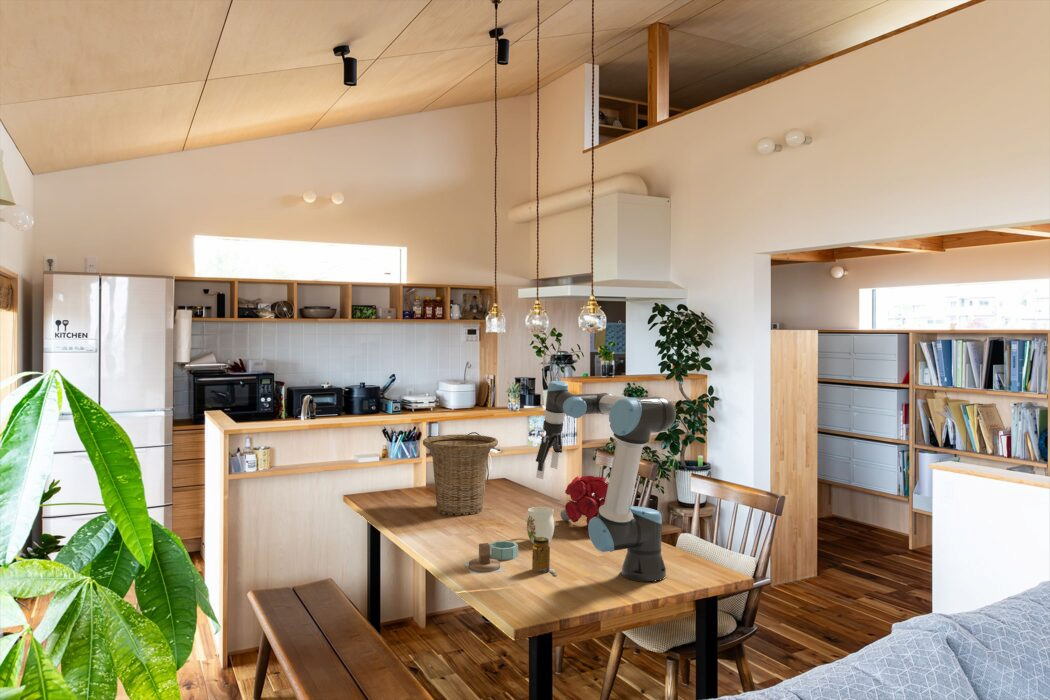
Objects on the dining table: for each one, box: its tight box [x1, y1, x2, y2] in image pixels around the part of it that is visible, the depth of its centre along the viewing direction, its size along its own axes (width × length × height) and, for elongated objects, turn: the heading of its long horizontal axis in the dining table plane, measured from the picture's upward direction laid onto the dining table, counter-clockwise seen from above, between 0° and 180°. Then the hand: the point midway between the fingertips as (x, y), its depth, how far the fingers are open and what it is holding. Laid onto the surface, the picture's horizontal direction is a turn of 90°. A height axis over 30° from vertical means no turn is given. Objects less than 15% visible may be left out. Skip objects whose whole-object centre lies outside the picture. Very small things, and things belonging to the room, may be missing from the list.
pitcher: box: [526, 506, 555, 545], centre depth 291 cm, size 11×18×14 cm, turn 31°
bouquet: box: [560, 475, 609, 527], centre depth 315 cm, size 22×24×30 cm
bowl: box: [488, 540, 519, 561], centre depth 270 cm, size 10×10×5 cm
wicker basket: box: [422, 434, 499, 516], centre depth 341 cm, size 35×35×33 cm
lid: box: [468, 542, 501, 573], centre depth 257 cm, size 11×11×8 cm
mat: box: [463, 562, 506, 575], centre depth 257 cm, size 12×12×1 cm
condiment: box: [531, 537, 557, 576], centre depth 253 cm, size 7×8×12 cm
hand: (547, 472), depth 284 cm, fingers open, 13 cm apart
